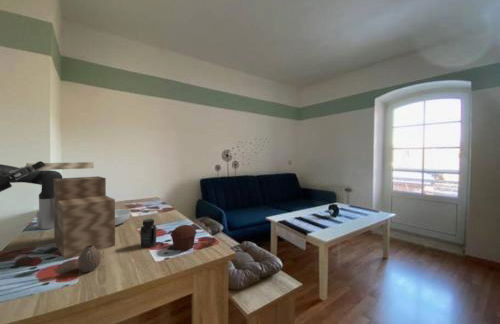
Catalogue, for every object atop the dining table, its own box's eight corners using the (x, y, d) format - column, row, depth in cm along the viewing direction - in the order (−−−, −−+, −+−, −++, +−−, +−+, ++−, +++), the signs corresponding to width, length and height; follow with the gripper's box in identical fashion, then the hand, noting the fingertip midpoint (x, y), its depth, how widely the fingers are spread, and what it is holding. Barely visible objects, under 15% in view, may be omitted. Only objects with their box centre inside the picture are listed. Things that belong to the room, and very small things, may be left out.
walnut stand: (63, 260, 82) (63, 184, 81) (54, 242, 98) (53, 178, 98) (115, 245, 96) (114, 180, 95) (99, 231, 112) (98, 176, 111)
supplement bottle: (159, 243, 99) (159, 218, 99) (148, 249, 93) (148, 223, 92) (148, 240, 101) (148, 217, 101) (137, 246, 95) (137, 221, 95)
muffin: (189, 240, 103) (189, 220, 103) (201, 247, 95) (201, 226, 95) (166, 247, 95) (166, 226, 95) (176, 255, 87) (176, 232, 87)
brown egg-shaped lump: (86, 264, 79) (86, 242, 79) (105, 264, 79) (105, 242, 79) (72, 275, 72) (72, 250, 72) (92, 274, 72) (92, 250, 72)
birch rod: (26, 170, 86) (26, 163, 86) (26, 170, 88) (26, 163, 88) (93, 168, 103) (93, 162, 103) (91, 167, 105) (91, 162, 105)
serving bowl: (137, 222, 129) (137, 212, 128) (99, 233, 111) (99, 220, 111) (120, 217, 139) (120, 207, 139) (83, 225, 122) (83, 214, 121)
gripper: (-21, 179, 73) (38, 155, 85) (-18, 176, 82) (35, 155, 93) (-4, 195, 76) (51, 170, 88) (-3, 191, 85) (47, 169, 97)
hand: (42, 163), depth 90 cm, fingers closed on birch rod, 3 cm apart
